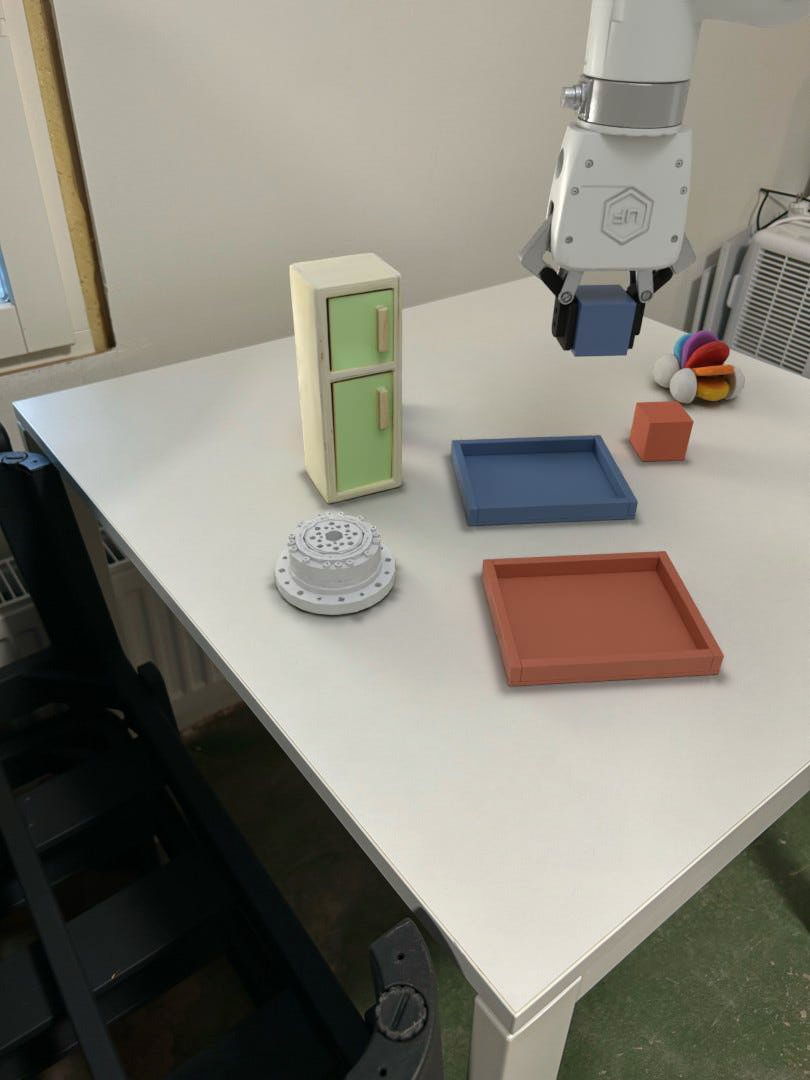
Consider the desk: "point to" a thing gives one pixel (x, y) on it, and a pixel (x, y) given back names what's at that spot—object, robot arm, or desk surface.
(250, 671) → the desk surface
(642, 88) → the robot arm
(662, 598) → the terracotta tray
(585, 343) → the blue block
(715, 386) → the rainbow petal toy
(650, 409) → the terracotta block
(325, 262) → the toy refrigerator
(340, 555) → the mechanical component
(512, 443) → the blue tray
